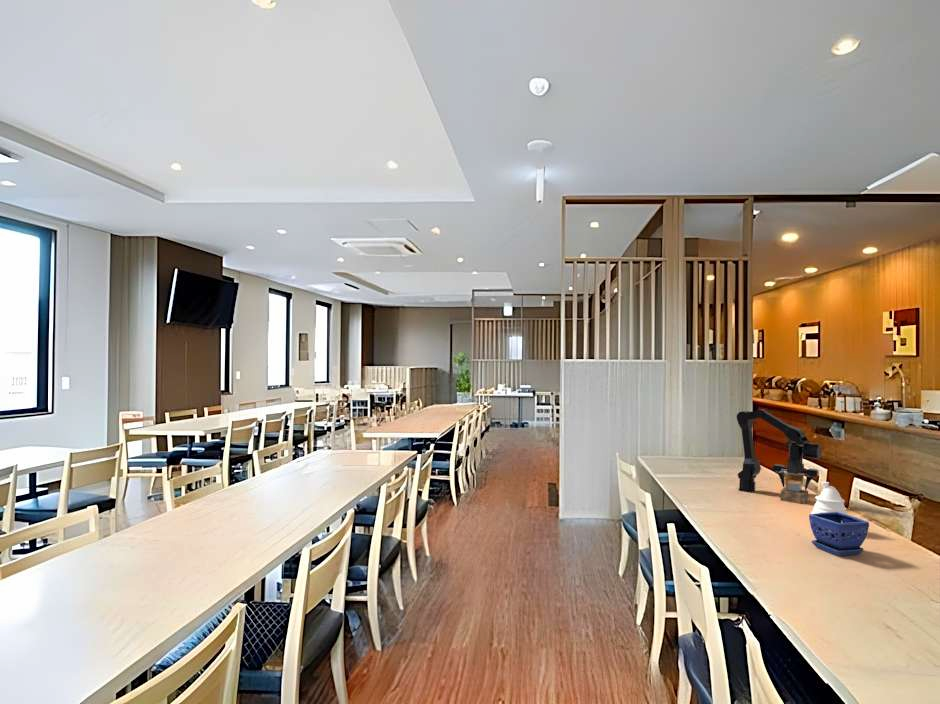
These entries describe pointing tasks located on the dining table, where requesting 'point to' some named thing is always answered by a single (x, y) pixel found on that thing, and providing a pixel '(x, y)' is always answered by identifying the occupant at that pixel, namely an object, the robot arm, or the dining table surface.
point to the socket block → (794, 496)
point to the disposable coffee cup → (793, 477)
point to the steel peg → (794, 486)
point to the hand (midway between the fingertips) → (794, 488)
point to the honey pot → (829, 501)
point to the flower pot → (838, 532)
